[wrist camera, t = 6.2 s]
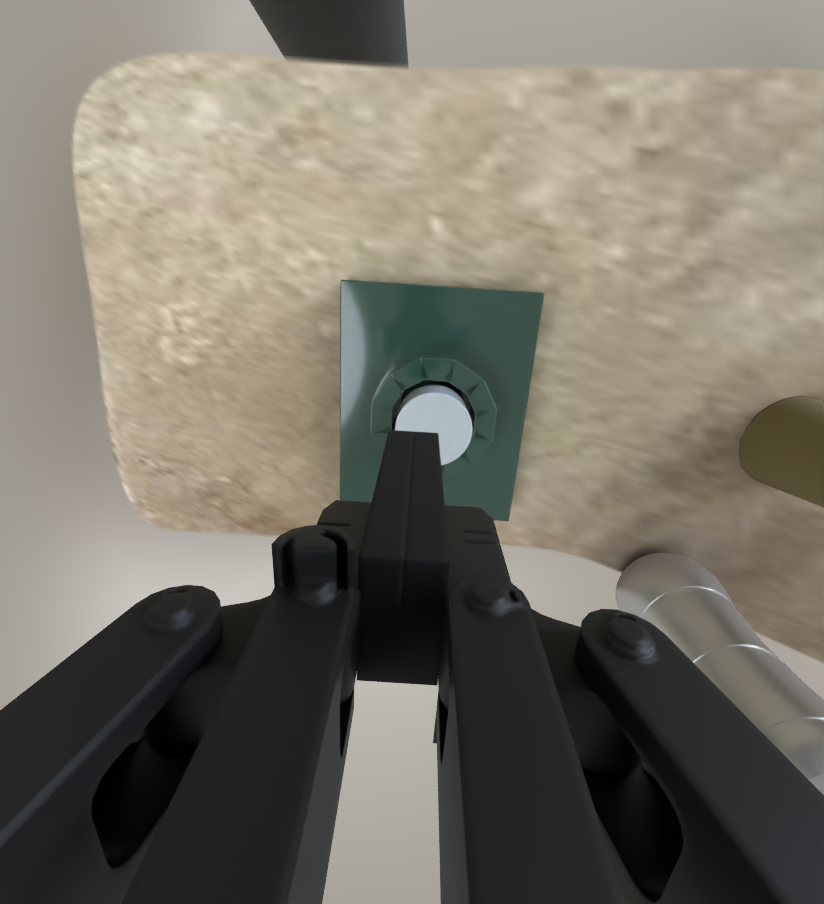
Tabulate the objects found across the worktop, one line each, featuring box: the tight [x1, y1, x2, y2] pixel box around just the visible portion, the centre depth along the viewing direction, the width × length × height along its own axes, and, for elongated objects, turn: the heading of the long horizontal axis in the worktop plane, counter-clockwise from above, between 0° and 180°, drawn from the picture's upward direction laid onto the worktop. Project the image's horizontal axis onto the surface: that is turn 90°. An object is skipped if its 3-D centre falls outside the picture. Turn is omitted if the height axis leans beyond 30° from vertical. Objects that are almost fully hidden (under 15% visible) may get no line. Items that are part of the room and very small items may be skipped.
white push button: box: [395, 384, 472, 465], centre depth 24 cm, size 4×4×2 cm
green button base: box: [340, 280, 544, 521], centre depth 26 cm, size 14×11×4 cm
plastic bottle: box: [616, 553, 824, 795], centre depth 23 cm, size 6×7×20 cm
